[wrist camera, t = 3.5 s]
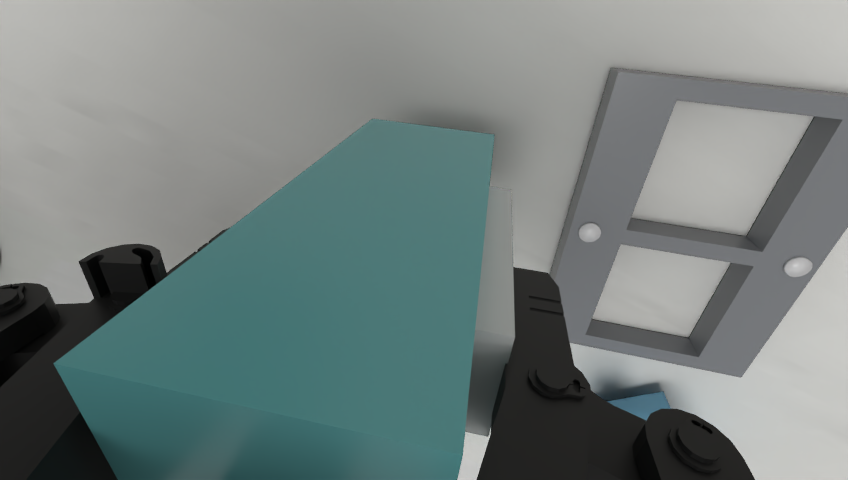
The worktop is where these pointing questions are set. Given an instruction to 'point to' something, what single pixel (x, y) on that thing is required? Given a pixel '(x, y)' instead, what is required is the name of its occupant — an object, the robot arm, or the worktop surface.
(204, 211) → the worktop surface
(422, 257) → the plug
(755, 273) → the socket plate
